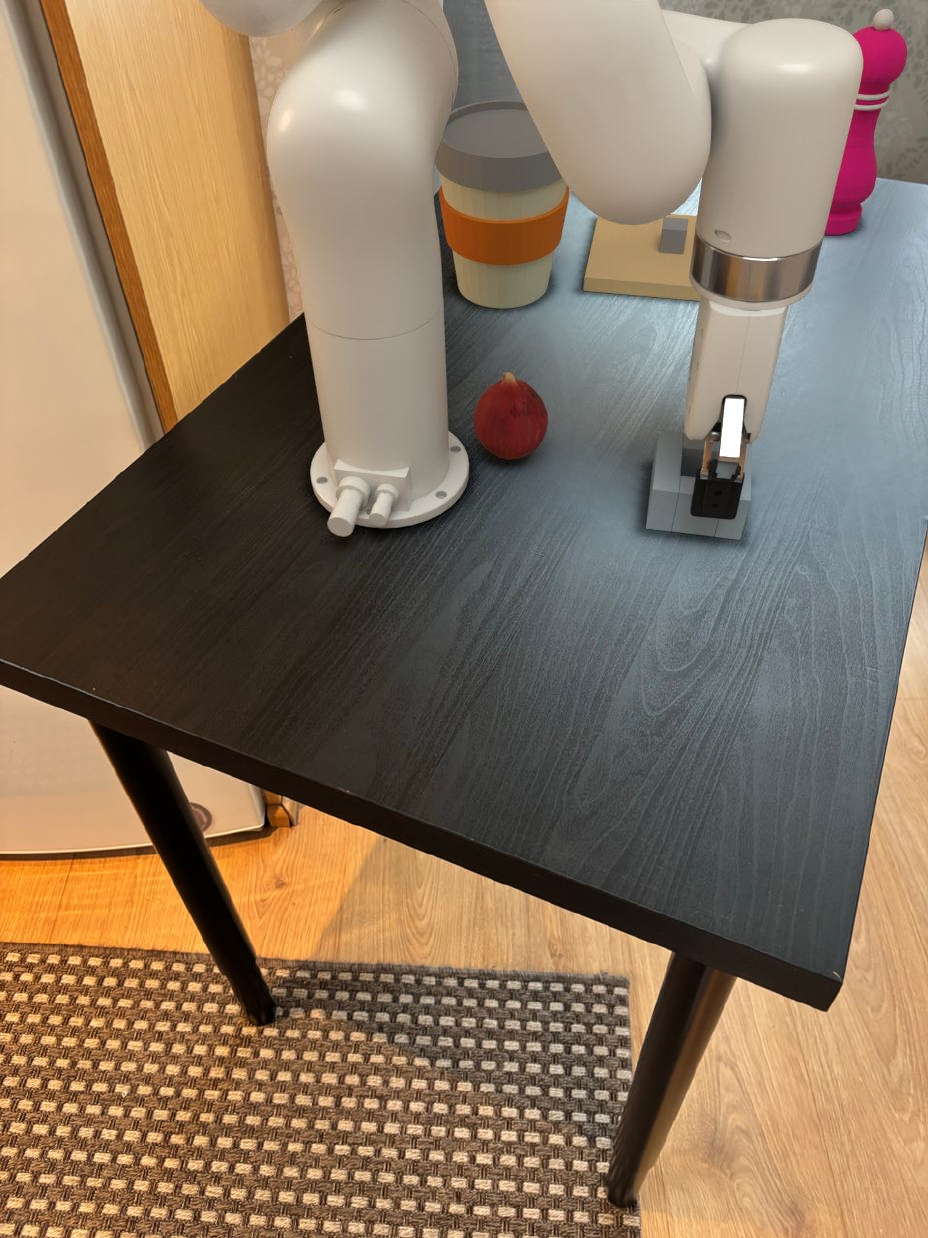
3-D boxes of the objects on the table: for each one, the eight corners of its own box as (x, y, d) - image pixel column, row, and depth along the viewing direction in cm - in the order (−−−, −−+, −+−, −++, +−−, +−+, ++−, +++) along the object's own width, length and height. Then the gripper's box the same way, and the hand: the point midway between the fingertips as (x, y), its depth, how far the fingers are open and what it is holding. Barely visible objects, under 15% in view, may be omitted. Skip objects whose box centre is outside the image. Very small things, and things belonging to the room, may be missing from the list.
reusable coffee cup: (589, 298, 94) (603, 140, 83) (473, 331, 91) (471, 171, 79) (529, 240, 101) (534, 88, 90) (419, 269, 98) (410, 114, 87)
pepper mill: (856, 205, 105) (919, -4, 90) (867, 239, 100) (936, 23, 85) (788, 203, 106) (839, -5, 90) (796, 236, 101) (852, 22, 86)
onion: (552, 440, 80) (557, 357, 74) (536, 485, 76) (541, 402, 70) (484, 429, 81) (484, 347, 75) (465, 473, 78) (464, 390, 72)
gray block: (740, 540, 72) (751, 500, 69) (645, 528, 73) (652, 489, 70) (741, 479, 77) (751, 438, 74) (652, 468, 78) (658, 428, 75)
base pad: (749, 305, 93) (758, 266, 90) (583, 290, 95) (586, 252, 92) (750, 233, 102) (758, 196, 99) (598, 221, 104) (601, 184, 101)
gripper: (697, 188, 65) (670, 397, 78) (684, 331, 54) (655, 547, 67) (812, 192, 64) (765, 404, 77) (823, 339, 53) (766, 558, 66)
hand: (714, 470), depth 72 cm, fingers open, 9 cm apart
